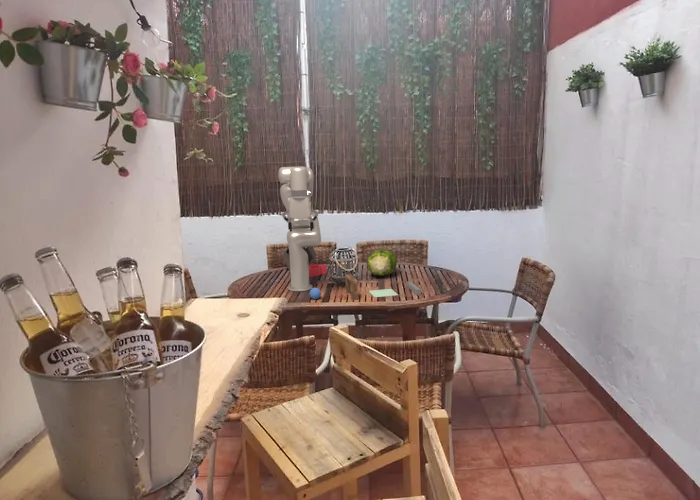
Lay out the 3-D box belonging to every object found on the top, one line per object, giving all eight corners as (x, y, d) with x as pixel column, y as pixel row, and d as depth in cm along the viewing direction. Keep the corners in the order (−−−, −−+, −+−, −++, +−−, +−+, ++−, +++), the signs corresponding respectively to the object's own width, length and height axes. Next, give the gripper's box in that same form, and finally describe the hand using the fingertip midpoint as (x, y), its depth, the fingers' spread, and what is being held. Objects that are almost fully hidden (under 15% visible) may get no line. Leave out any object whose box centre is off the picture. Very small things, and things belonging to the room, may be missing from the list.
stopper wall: (407, 286, 274) (407, 282, 273) (410, 286, 274) (410, 281, 274) (416, 294, 258) (416, 289, 258) (420, 294, 259) (420, 289, 258)
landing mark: (368, 291, 268) (368, 290, 268) (391, 289, 270) (391, 288, 270) (374, 297, 256) (374, 296, 256) (398, 295, 259) (398, 294, 259)
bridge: (351, 300, 253) (351, 281, 251) (345, 292, 267) (345, 274, 265) (357, 299, 254) (357, 280, 252) (351, 291, 268) (351, 273, 266)
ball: (309, 297, 259) (308, 286, 258) (320, 296, 260) (319, 285, 259) (310, 301, 254) (310, 289, 253) (322, 300, 255) (321, 288, 254)
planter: (278, 263, 319) (294, 235, 313) (281, 260, 326) (298, 232, 321) (301, 278, 318) (318, 250, 313) (304, 275, 325) (321, 248, 320)
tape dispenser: (318, 278, 300) (317, 269, 299) (302, 277, 303) (301, 268, 302) (327, 272, 313) (327, 264, 312) (312, 271, 316) (311, 263, 315)
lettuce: (364, 281, 288) (364, 254, 285) (370, 272, 308) (369, 246, 305) (394, 281, 285) (394, 254, 282) (397, 272, 305) (397, 246, 302)
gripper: (318, 193, 248) (319, 229, 251) (281, 194, 248) (283, 230, 251) (317, 194, 241) (319, 231, 244) (279, 195, 241) (281, 232, 244)
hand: (301, 230), depth 247 cm, fingers open, 9 cm apart
